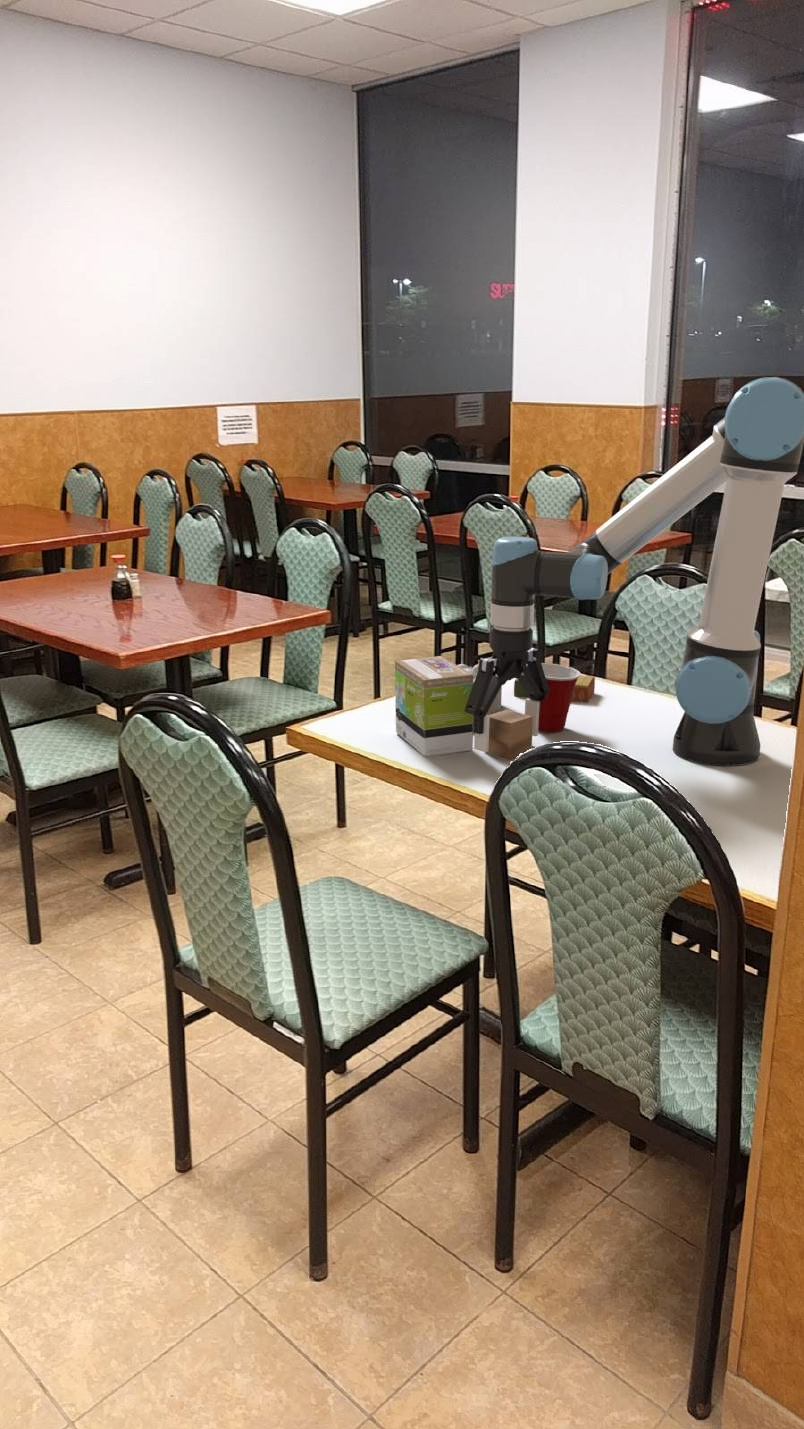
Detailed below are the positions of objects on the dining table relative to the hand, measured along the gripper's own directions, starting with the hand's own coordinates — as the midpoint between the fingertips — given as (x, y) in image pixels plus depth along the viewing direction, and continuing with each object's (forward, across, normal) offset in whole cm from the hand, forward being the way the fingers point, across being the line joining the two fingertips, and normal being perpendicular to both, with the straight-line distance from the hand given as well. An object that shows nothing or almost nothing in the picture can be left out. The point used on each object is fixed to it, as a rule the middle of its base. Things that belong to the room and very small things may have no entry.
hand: (506, 742), depth 195 cm
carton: (+3, -37, -19) cm, 41 cm away
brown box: (+2, 0, 0) cm, 2 cm away
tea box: (+2, +5, -13) cm, 15 cm away
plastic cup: (+2, -17, -4) cm, 18 cm away
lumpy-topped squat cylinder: (+2, -17, -24) cm, 29 cm away
